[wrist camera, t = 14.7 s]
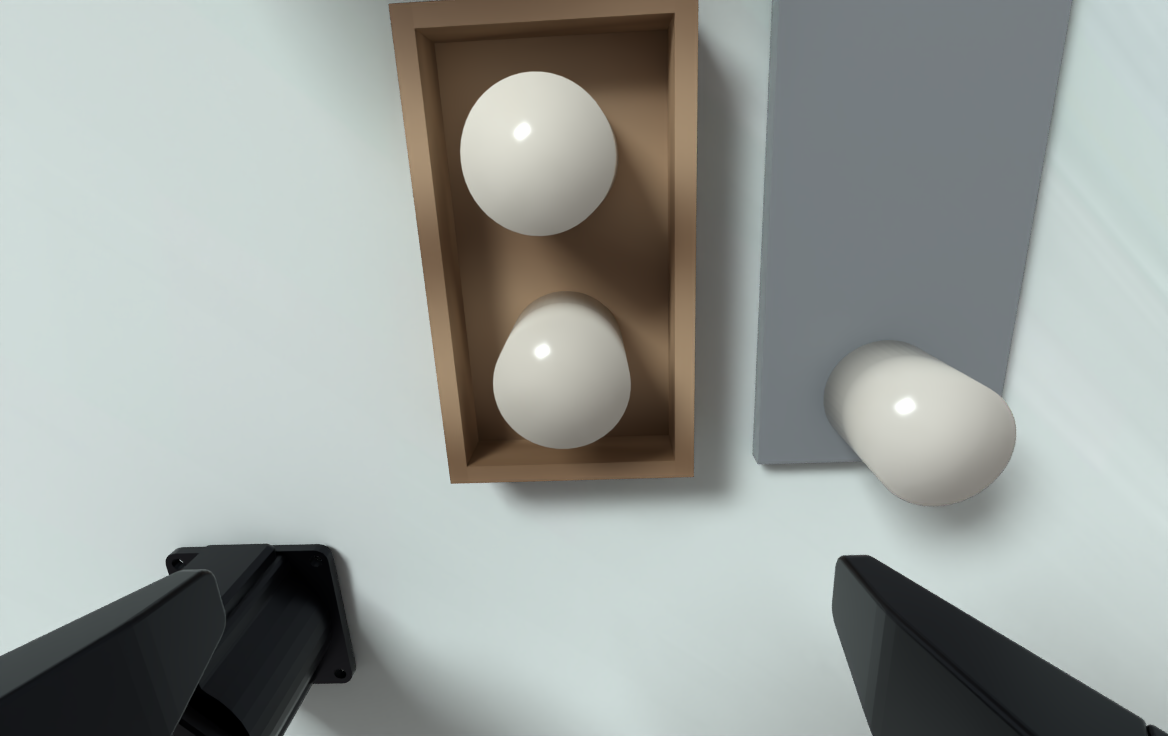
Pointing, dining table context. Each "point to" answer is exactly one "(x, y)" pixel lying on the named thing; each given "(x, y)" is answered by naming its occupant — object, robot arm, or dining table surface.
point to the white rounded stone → (919, 423)
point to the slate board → (895, 193)
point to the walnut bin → (574, 257)
